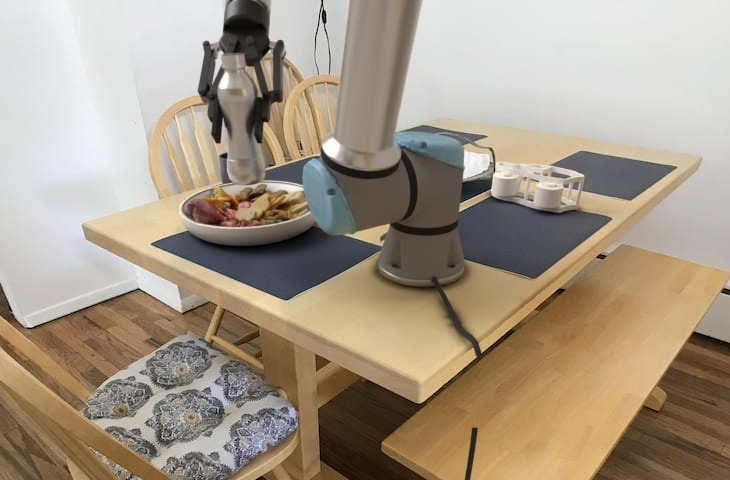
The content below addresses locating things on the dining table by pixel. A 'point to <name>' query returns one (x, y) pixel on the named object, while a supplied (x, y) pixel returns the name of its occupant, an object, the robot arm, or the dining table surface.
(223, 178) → the navy cup
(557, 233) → the dining table surface
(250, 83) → the silver metal bottle
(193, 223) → the bowl
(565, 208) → the car outline toy
